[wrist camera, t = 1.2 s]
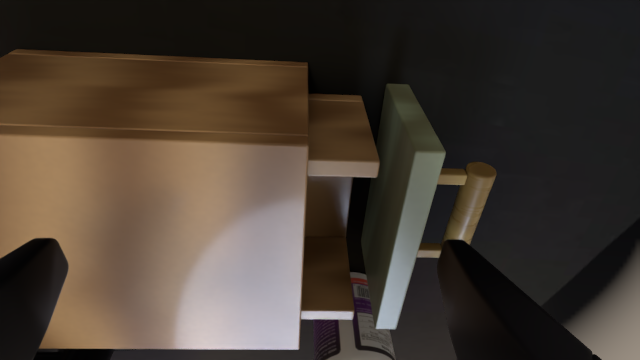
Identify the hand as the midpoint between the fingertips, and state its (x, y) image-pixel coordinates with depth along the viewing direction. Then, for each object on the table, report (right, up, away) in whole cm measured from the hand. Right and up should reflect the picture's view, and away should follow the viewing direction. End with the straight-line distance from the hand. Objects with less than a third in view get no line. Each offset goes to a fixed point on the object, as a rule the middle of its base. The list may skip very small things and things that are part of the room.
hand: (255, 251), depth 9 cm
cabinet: (-7, +3, +14) cm, 16 cm away
